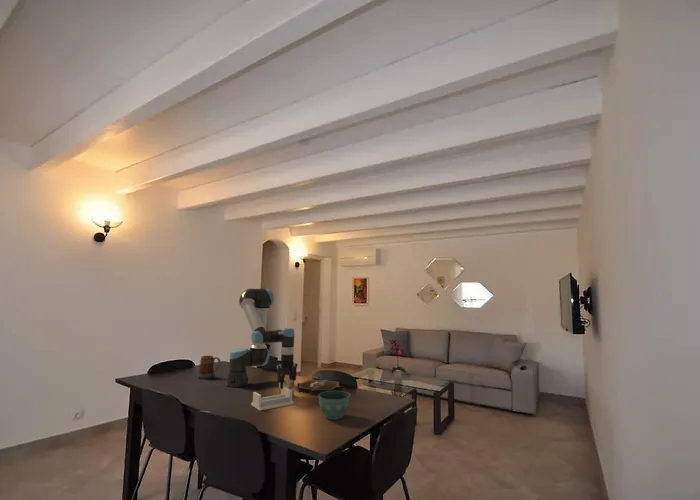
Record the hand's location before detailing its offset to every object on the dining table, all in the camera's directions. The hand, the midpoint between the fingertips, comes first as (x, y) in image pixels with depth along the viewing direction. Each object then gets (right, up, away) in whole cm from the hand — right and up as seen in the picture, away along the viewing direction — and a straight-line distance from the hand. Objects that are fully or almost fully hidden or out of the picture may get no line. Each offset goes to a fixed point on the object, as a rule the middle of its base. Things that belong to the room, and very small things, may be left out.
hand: (286, 393), depth 225 cm
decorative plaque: (+18, -5, +18) cm, 26 cm away
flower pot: (+30, +2, -36) cm, 47 cm away
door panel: (0, -2, 0) cm, 2 cm away
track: (-5, 0, -17) cm, 18 cm away
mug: (-64, -6, +45) cm, 78 cm away
